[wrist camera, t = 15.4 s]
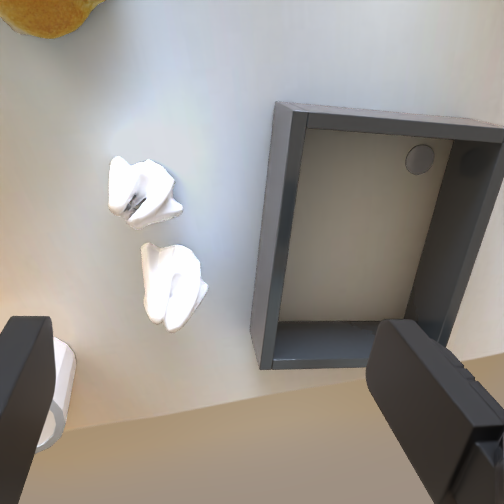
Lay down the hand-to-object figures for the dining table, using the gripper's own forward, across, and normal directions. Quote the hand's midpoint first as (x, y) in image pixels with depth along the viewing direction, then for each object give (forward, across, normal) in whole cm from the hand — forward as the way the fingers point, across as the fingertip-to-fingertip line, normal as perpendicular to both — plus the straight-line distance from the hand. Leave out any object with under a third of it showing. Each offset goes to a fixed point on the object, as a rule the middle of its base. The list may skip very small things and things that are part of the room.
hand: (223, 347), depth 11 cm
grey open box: (+23, -14, +6) cm, 28 cm away
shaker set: (+24, +2, +6) cm, 25 cm away
